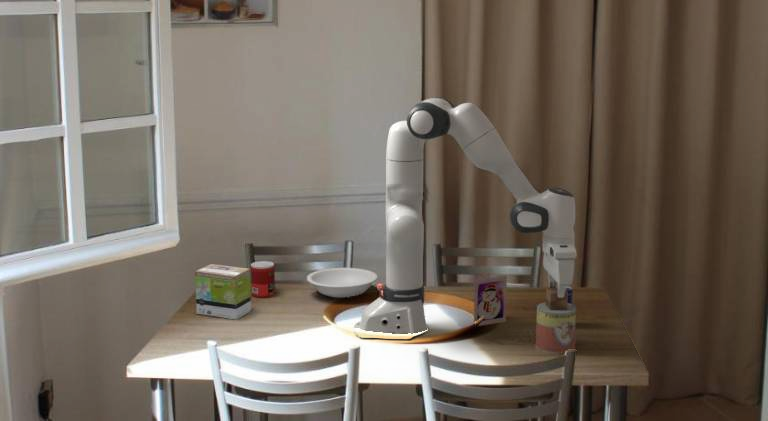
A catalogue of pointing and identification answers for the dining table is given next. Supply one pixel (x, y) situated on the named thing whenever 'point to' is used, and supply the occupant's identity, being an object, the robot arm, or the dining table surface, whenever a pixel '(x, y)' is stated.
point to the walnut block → (556, 299)
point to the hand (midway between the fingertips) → (556, 292)
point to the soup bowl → (342, 281)
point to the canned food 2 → (555, 328)
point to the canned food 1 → (262, 279)
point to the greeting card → (490, 299)
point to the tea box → (223, 291)
